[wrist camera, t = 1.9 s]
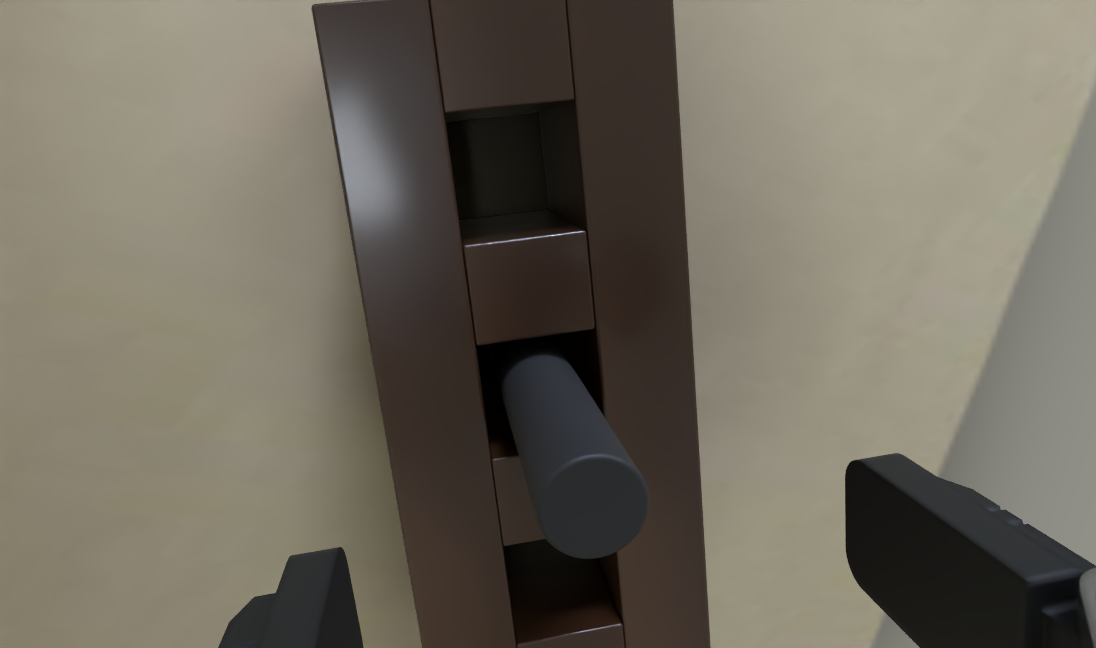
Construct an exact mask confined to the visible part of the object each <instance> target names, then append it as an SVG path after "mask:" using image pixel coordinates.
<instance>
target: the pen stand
mask: <svg viewBox="0 0 1096 648" xmlns="http://www.w3.org/2000/svg"><path fill="white" fill-rule="evenodd" d="M312 14H313V20H314V25H315V31H316V37H317V43H318V49H319V54H320V60H321V66H322V72H323V77H324V83H325V89H326V95H327V100H328V106H329V112H330V118H331V124H332V129H333V135H334V141H335V147H336V152H337V158H338V164H339V170H340V175H341V181H342V187H343V193H344V199H345V204H346V210H347V216H348V222H349V227H350V233H351V239H352V245H353V251H354V256H355V262H356V268H357V274H358V279H359V285H360V291H361V297H362V302H363V308H364V314H365V320H366V326H367V331H368V337H369V343H370V349H371V354H372V360H373V366H374V372H375V377H376V383H377V389H378V395H379V401H380V406H381V412H382V418H383V424H384V429H385V435H386V441H387V447H388V453H389V458H390V464H391V470H392V476H393V481H394V487H395V493H396V499H397V504H398V510H399V516H400V522H401V528H402V533H403V539H404V545H405V551H406V556H407V562H408V568H409V574H410V579H411V585H412V591H413V597H414V603H415V608H416V614H417V620H418V626H419V631H420V637H421V643H422V648H710V631H709V614H708V596H707V579H706V562H705V544H704V527H703V510H702V493H701V475H700V458H699V441H698V424H697V406H696V389H695V372H694V354H693V337H692V320H691V303H690V285H689V268H688V251H687V233H686V216H685V199H684V182H683V164H682V147H681V130H680V113H679V95H678V78H677V61H676V43H675V26H674V9H673V0H357V1H345V2H333V3H321V4H314V5H312ZM536 112H539V118H540V127H541V137H542V146H543V156H544V166H545V175H546V185H547V194H548V204H549V211H548V210H543V211H535V212H527V213H519V214H510V215H502V216H494V217H486V218H478V219H469V220H461V221H459V217H458V209H457V202H456V195H455V187H454V180H453V172H452V165H451V158H450V150H449V143H448V135H447V128H446V122H450V121H460V120H469V119H479V118H488V117H498V116H507V115H517V114H526V113H536ZM557 334H562V338H563V348H564V355H565V356H566V358H567V360H568V361H569V363H570V364H571V366H572V367H573V369H574V370H575V372H576V374H577V375H578V377H579V378H580V380H581V381H582V383H583V384H584V386H585V388H586V389H587V391H588V392H589V394H590V395H591V397H592V398H593V400H594V402H595V403H596V405H597V406H598V408H599V409H600V411H601V413H602V414H603V416H604V417H605V419H606V420H607V422H608V423H609V425H610V427H611V428H612V430H613V431H614V433H615V434H616V436H617V437H618V439H619V441H620V442H621V444H622V445H623V447H624V448H625V450H626V451H627V453H628V455H629V456H630V458H631V459H632V461H633V462H634V464H635V465H636V467H637V469H638V470H639V472H640V473H641V475H642V476H643V478H644V480H645V482H646V485H647V488H648V494H649V507H648V512H647V516H646V519H645V522H644V524H643V526H642V528H641V530H640V531H639V533H638V534H637V535H636V537H635V538H634V539H633V540H632V541H631V542H630V543H629V544H627V545H626V546H625V547H624V548H622V549H621V550H619V551H617V552H615V553H613V554H610V555H608V556H604V557H600V558H593V559H583V558H577V557H573V556H570V555H567V554H565V553H563V552H561V551H559V550H557V549H556V548H555V547H553V546H552V545H551V544H550V543H549V542H548V541H547V540H546V538H545V537H544V535H543V534H542V532H541V530H540V527H539V525H538V522H537V518H536V515H535V511H534V507H533V504H532V500H531V497H530V493H529V490H528V486H527V483H526V479H525V476H524V472H523V469H522V465H521V461H520V458H519V454H518V451H517V447H516V444H515V440H514V437H513V433H512V430H511V426H510V423H509V419H508V415H507V412H506V408H505V405H504V401H503V398H502V394H501V391H500V387H499V384H498V383H496V384H490V385H483V386H481V379H480V372H479V364H478V357H477V350H476V344H477V345H487V344H494V343H501V342H508V341H515V340H522V339H529V338H536V337H543V336H550V335H557Z"/></svg>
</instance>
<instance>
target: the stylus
mask: <svg viewBox="0 0 1096 648" xmlns="http://www.w3.org/2000/svg"><path fill="white" fill-rule="evenodd" d="M489 351H490V355H491V359H492V362H493V366H494V370H495V373H496V377H497V380H498V384H499V387H500V391H501V394H502V398H503V401H504V405H505V408H506V412H507V415H508V419H509V423H510V426H511V430H512V433H513V437H514V440H515V444H516V447H517V451H518V454H519V458H520V461H521V465H522V469H523V472H524V476H525V479H526V483H527V486H528V490H529V493H530V497H531V500H532V504H533V507H534V511H535V515H536V518H537V522H538V525H539V527H540V530H541V532H542V534H543V535H544V537H545V538H546V540H547V541H548V542H549V543H550V544H551V545H552V546H553V547H555V548H556V549H557V550H559V551H561V552H563V553H565V554H567V555H570V556H573V557H577V558H583V559H593V558H600V557H604V556H608V555H610V554H613V553H615V552H617V551H619V550H621V549H622V548H624V547H625V546H626V545H627V544H629V543H630V542H631V541H632V540H633V539H634V538H635V537H636V535H637V534H638V533H639V531H640V530H641V528H642V526H643V524H644V522H645V519H646V516H647V512H648V507H649V494H648V488H647V485H646V482H645V480H644V478H643V476H642V475H641V473H640V472H639V470H638V469H637V467H636V465H635V464H634V462H633V461H632V459H631V458H630V456H629V455H628V453H627V451H626V450H625V448H624V447H623V445H622V444H621V442H620V441H619V439H618V437H617V436H616V434H615V433H614V431H613V430H612V428H611V427H610V425H609V423H608V422H607V420H606V419H605V417H604V416H603V414H602V413H601V411H600V409H599V408H598V406H597V405H596V403H595V402H594V400H593V398H592V397H591V395H590V394H589V392H588V391H587V389H586V388H585V386H584V384H583V383H582V381H581V380H580V378H579V377H578V375H577V374H576V372H575V370H574V369H573V367H572V366H571V364H570V363H569V361H568V360H567V358H566V356H565V355H564V353H563V352H562V350H561V349H560V347H559V346H558V344H557V342H556V341H555V339H554V338H553V336H552V335H550V336H543V337H536V338H529V339H522V340H515V341H508V342H501V343H494V344H489Z"/></svg>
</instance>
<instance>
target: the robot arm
mask: <svg viewBox="0 0 1096 648" xmlns="http://www.w3.org/2000/svg"><path fill="white" fill-rule="evenodd" d="M845 510H846V554H847V559H848V563H849V566H850V569H851V571H852V574H853V576H854V578H855V580H856V581H857V583H858V584H859V586H860V587H861V588H862V589H863V590H864V591H865V592H866V593H867V594H868V595H869V596H870V598H871V599H872V600H873V601H874V602H875V603H876V604H877V605H878V606H879V607H880V608H881V609H882V610H883V611H884V612H885V613H886V614H887V615H888V616H889V617H890V618H891V619H892V620H893V621H894V622H895V623H896V624H897V625H898V626H899V627H900V628H901V629H902V630H903V631H904V632H905V633H906V634H907V635H908V636H909V637H910V638H911V639H912V640H913V641H914V642H915V643H916V644H917V645H918V646H919V647H920V648H1096V566H1095V565H1094V564H1092V563H1090V562H1089V561H1087V560H1085V559H1084V558H1082V557H1081V556H1079V555H1077V554H1076V553H1074V552H1073V551H1071V550H1069V549H1068V548H1066V547H1065V546H1063V545H1061V544H1060V543H1058V542H1057V541H1055V540H1053V539H1052V538H1050V537H1048V536H1047V535H1045V534H1043V533H1042V532H1040V531H1039V530H1037V529H1036V528H1034V527H1032V526H1031V525H1029V524H1025V525H1024V524H1023V522H1022V520H1021V519H1019V518H1018V517H1016V516H1015V515H1013V514H1011V513H1010V512H1008V511H1007V510H1001V509H1000V506H999V505H997V504H995V503H994V502H992V501H991V500H989V499H987V498H986V497H984V496H982V495H981V494H979V493H978V492H976V491H974V490H973V489H970V488H967V487H964V486H961V485H959V484H956V483H953V482H950V481H947V480H944V479H941V478H939V477H936V476H935V475H933V474H932V473H930V472H929V471H927V470H925V469H924V468H922V467H921V466H919V465H918V464H916V463H915V462H913V461H911V460H910V459H908V458H907V457H905V456H903V455H902V454H898V453H894V454H888V455H883V456H877V457H871V458H865V459H859V460H854V461H851V462H850V463H849V465H848V466H847V469H846V475H845ZM218 648H363V642H362V636H361V630H360V625H359V620H358V615H357V610H356V604H355V599H354V594H353V589H352V584H351V578H350V573H349V568H348V563H347V559H346V555H345V552H344V550H343V548H342V547H339V548H333V549H327V550H321V551H315V552H309V553H304V554H298V555H292V556H290V557H289V559H288V561H287V564H286V566H285V569H284V572H283V575H282V578H281V580H280V583H279V586H278V589H277V591H276V593H274V594H268V595H262V596H257V597H254V598H253V599H252V600H251V601H250V602H249V603H248V604H247V605H246V606H245V607H244V608H243V609H242V610H241V611H240V612H239V613H238V614H237V615H236V616H235V617H234V618H233V619H232V620H231V621H230V622H229V624H228V626H227V629H226V631H225V633H224V636H223V638H222V640H221V642H220V645H219V647H218Z"/></svg>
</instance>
